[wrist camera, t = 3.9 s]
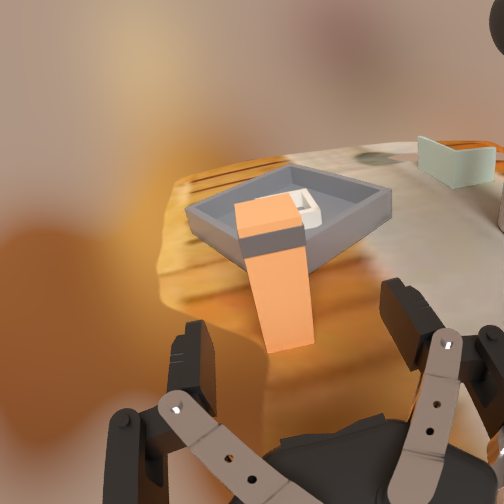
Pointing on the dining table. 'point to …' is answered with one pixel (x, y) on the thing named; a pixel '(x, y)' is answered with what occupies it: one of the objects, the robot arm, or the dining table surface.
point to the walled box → (308, 204)
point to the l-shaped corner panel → (456, 163)
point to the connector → (277, 269)
